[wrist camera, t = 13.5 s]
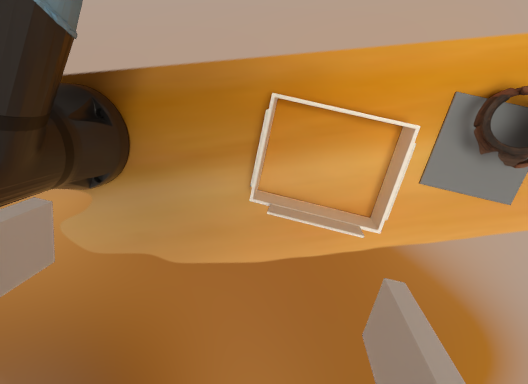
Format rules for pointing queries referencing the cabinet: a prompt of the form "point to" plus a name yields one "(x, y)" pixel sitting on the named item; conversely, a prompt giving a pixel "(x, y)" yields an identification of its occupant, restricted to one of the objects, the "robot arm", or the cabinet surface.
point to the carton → (327, 215)
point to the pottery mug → (486, 137)
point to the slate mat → (477, 151)
